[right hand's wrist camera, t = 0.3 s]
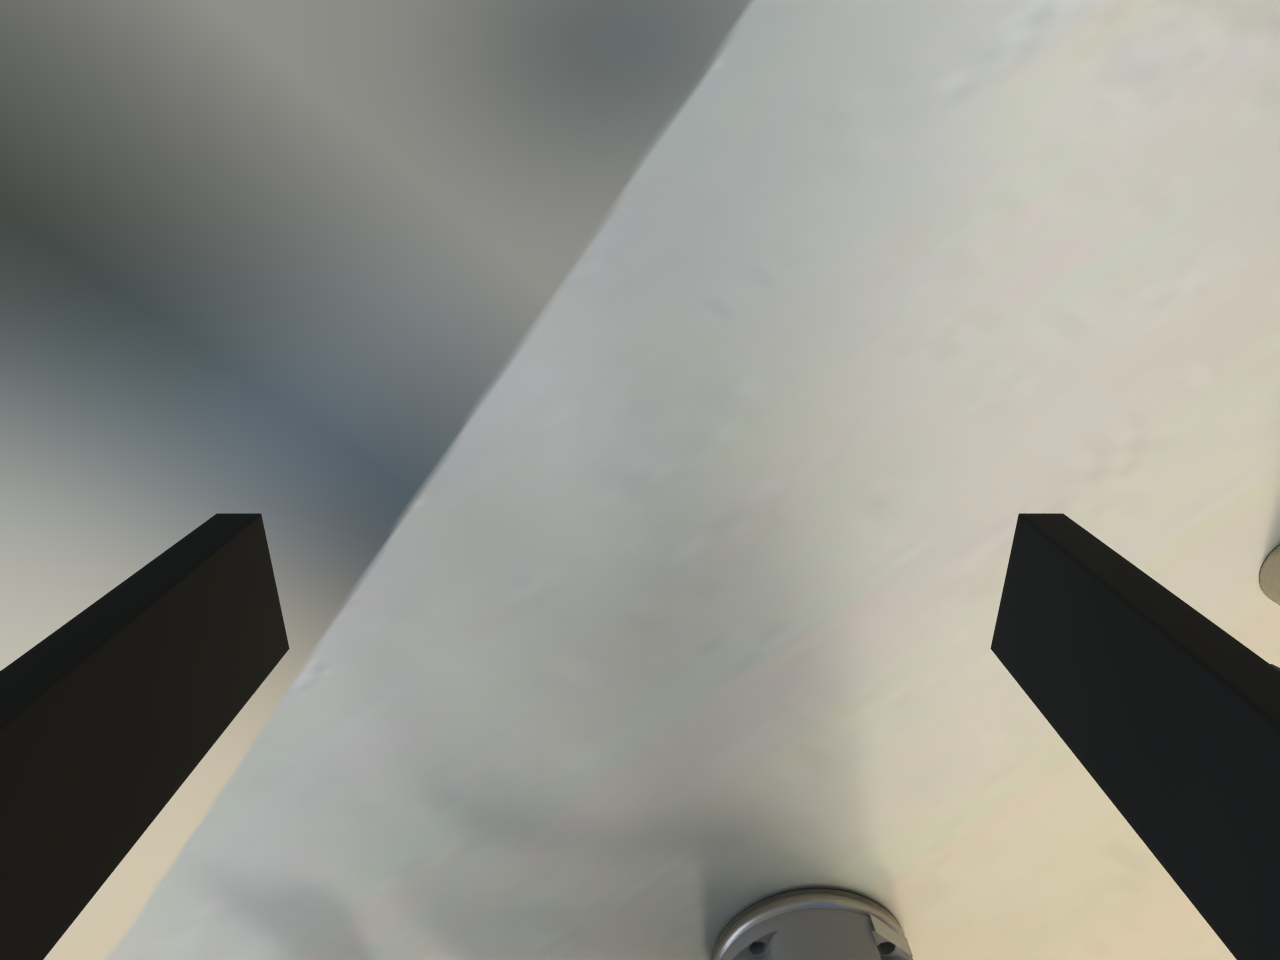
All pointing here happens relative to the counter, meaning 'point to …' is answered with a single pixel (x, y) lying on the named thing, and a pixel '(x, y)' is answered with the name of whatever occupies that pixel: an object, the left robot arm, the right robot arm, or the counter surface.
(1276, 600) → the jar
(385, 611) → the counter surface
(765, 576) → the counter surface
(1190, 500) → the counter surface
